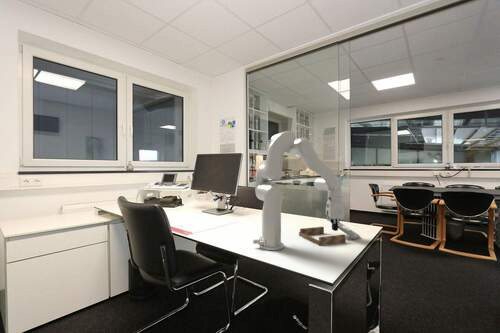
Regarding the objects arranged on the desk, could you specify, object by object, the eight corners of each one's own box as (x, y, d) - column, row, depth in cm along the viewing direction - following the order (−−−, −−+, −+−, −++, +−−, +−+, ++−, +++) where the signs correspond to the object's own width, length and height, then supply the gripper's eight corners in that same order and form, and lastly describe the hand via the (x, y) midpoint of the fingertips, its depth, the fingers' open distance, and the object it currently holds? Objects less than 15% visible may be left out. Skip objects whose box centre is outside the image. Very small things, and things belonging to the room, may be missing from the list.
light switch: (356, 236, 126) (333, 221, 135) (350, 245, 127) (328, 229, 137) (361, 234, 132) (339, 219, 142) (356, 242, 134) (334, 227, 143)
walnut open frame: (319, 245, 118) (319, 237, 118) (298, 235, 136) (298, 228, 136) (345, 242, 123) (345, 234, 123) (322, 233, 142) (322, 226, 142)
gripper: (328, 200, 127) (328, 233, 127) (349, 198, 132) (350, 230, 132) (319, 198, 134) (320, 229, 134) (340, 197, 139) (340, 227, 139)
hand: (334, 230), depth 133 cm, fingers closed
